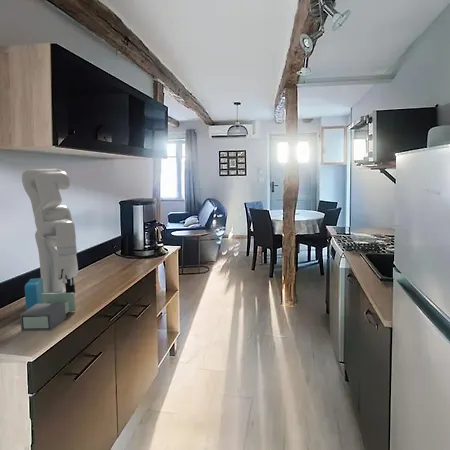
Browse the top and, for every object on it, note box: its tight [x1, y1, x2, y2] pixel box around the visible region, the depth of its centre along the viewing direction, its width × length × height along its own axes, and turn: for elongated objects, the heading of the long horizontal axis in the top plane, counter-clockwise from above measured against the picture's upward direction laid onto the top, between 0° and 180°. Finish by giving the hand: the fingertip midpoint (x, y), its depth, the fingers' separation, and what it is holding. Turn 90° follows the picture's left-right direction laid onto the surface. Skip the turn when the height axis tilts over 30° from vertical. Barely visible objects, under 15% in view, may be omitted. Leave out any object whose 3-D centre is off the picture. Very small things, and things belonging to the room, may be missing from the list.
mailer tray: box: [23, 293, 77, 329], centre depth 149 cm, size 19×13×8 cm
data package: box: [24, 277, 44, 311], centre depth 162 cm, size 12×4×12 cm, turn 14°
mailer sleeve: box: [19, 303, 67, 332], centre depth 145 cm, size 12×11×6 cm
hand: (70, 293), depth 163 cm, fingers closed
